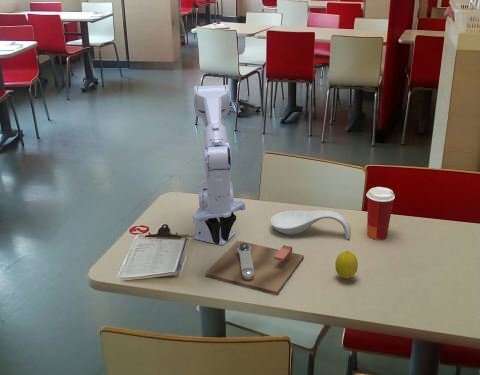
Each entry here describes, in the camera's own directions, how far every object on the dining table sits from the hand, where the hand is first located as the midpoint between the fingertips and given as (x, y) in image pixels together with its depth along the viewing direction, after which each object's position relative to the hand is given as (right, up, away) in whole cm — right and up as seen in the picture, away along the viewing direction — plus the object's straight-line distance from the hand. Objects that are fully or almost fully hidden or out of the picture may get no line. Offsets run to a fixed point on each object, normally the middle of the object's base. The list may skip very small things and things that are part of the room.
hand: (220, 241), depth 140 cm
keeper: (+16, -6, +4) cm, 18 cm away
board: (+9, -7, +4) cm, 12 cm away
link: (+7, -6, +3) cm, 10 cm away
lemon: (+32, -10, -2) cm, 33 cm away
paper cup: (+45, 0, +19) cm, 49 cm away
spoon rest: (+26, 0, +22) cm, 34 cm away
